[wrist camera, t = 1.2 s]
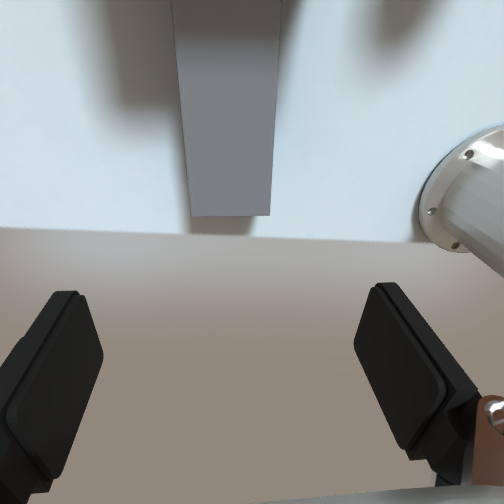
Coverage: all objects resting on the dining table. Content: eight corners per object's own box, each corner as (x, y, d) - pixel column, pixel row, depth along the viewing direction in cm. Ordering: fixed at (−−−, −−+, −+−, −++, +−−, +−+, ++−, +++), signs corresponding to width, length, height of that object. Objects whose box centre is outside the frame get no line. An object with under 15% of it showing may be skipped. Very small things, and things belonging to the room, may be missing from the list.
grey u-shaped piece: (262, 191, 28) (269, 215, 24) (196, 191, 28) (191, 216, 24) (270, -8, 21) (283, -24, 16) (179, -12, 20) (168, -29, 16)
